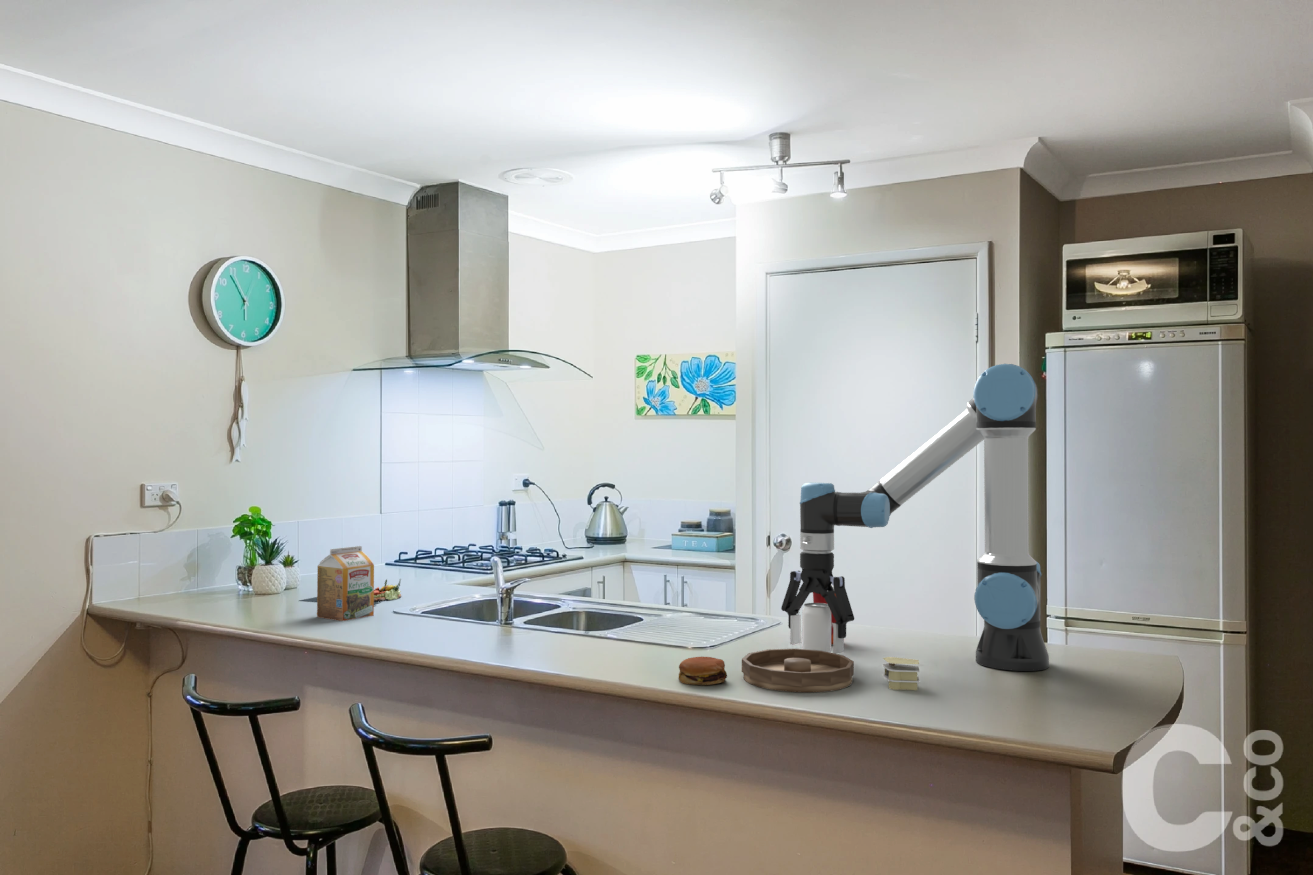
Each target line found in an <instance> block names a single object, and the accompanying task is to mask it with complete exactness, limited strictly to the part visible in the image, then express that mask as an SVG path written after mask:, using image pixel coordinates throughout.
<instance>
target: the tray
mask: <svg viewBox="0 0 1313 875" xmlns="http://www.w3.org/2000/svg"><path fill="white" fill-rule="evenodd" d="M741 673H742V674H743V680H744V681H745V682H746V683H748V684H750V685H752V686H755V687H758V688H762V689H767V690H771V691H779V692H789V693H825V692H826V693H827V692H834V691H840V690H842V689H846V688H848V687H850V686H851V685H852V684H853V676H854V675H855V662H854V660H852V659H851V658H848V657H846V656H845V655H844V654H841V653H837V654H835V653H833V652H831V653H830V652H825V651H820V650H806V649H802V648H772V649H771V648H770V649H764V650H763V649H762V650H757V651H754V652H749V653H747V654H745V656H744V657H742V658H741Z"/></svg>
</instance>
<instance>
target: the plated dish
mask: <svg viewBox="0 0 1313 875" xmlns="http://www.w3.org/2000/svg"><path fill="white" fill-rule="evenodd" d="M401 580H402V578H399V581H398V583H397V584H395V585H393V584H388V579H385V581H384V586H382V587H381V588H380V587H379V586H377V587H376V588H374V607H375V608H376V607H378V606H377V605H378V604H381V603H382V602H387V601H389V602H390V601H396V600H398V599H401V598H402V594H401V592H402V591H401V590H400V586H401ZM298 602H306V603H317V596H316V597H315V596H314V597H310V598H309V597H308V598H304V599H301V600H298Z"/></svg>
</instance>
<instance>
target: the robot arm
mask: <svg viewBox="0 0 1313 875" xmlns="http://www.w3.org/2000/svg"><path fill="white" fill-rule="evenodd" d="M972 396H973V397H972V398H971V399H970V400H969V401H968V402H966V407H965V408H966V409H965V410H964V411H963V412H961V414H959V415H958V416H957V417H956V418H954V419H953V420H952V421H951V422H949V423H948V424H947V425H946V426H944V427H943V428H942V429H941V430H939V431H938V432H937V433H936V434H935V435H933V436H932V437H931V438H930V439H929V440H927V441H926V442H925V443H923V444H922V445H921V446H920V447H919V448H917V449H916V450H915V451H914V452H912V453H911V455H909V456H908V457H907V458H905V459H904V460H903V461H902V462H901V463H899V464H898V465H897V466H896V467H894V468H893V469H892V470H891V471H889V472H887V474H886V475H884V476H883V477H882V478H880V480H879V481H877V482H876V483H874V484H873V485H872V486H871V487H870V488H868V489H867V490H866V491H863V492H842V491H841V492H840V491H836V489H835V485H834V483H832V482H831V483H830V482H804V483H803V484H802V486H801V487H800V488H801V489H800V501H799V506H800V507H799V508H800V509H799V511H800V512H799V514H800V522H799V523H800V535H799V536H800V537H799V538H800V539H799V541H800V546H799V548H800V549H801V550H802V551H801V552H800V553H799V567H800V568H801V570H793V571H792V570H791V571H790V574H789V583H788V586H787V588H786V593H785V596H784V598H783V600H782V601H783V602H782V604H781V607H780V609H781V612H786V613H787V615H788V622H787V623H788V625H787V626H788V629H789V630H790V636H789V638H790V642H789V643H790V645H799V644H802V614H800V610H801V609H802V607H803V606H804V604H805V602H806V600H807V598H809V595H810V594H811V593H812V594H813V592H815V593H817V594H821V596H822V597H824V599H825V600H826V602H827V604H828V606H829V608H830V610H831V612H832V614H833V616H834V618H835V620H836V622H835V623H833V644H832V645H833V646H832V650H833V651H832V653H835V654H841V653H845V649H844V648H845V639H846V637H847V624H848V623H849V622H853V621H854V620H855V615H854V612H853V609H852V606H851V602H850V599H849V596H848V593H847V589H846V582H845V581H846V580H845V577H844V576H834V575H833V574H834V573H833V569H834V568H835V554H834V553H833V552H832V551H833V550H835V526H838V527H840V526H843V527H861V528H863V527H864V528H870V529H873V528H885V527H887V525H888V523H889V521H890V516H891V515H892V514H893V513H894V512H895V511H896V510H898V509H899V508H900V507H901V506H903V504H904V503H906V502H907V501H909V500H910V499H911V498H912V497H914V496H915V495H917V493H918V492H920V491H921V490H923V488H925V487H926V486H928V485H929V484H930V483H931V482H932V481H934V480H935V479H936V478H938V476H940V475H941V474H943V473H944V472H945V471H946V470H947V469H948V468H950V467H952V466H953V465H954V464H955V463H957V461H959V460H960V459H961V458H963V457H964V456H965V455H966V454H968V453H969V452H970V451H972V449H974V448H975V447H976V446H978V445H979V444H980V443H982V442H983V441H984V442H983V448H984V449H983V451H984V452H983V458H984V460H983V461H984V465H983V468H984V469H983V470H984V472H983V473H984V474H983V475H984V476H983V478H984V482H983V483H984V487H983V488H984V491H983V492H984V552H983V553H982V554H981V556H979V558H978V559H977V563H976V567H977V568H976V576H977V577H976V579H977V580H976V581H977V582H976V585H977V586H976V589H975V592H974V598H973V599H974V604H975V608H976V611H977V613H978V614H979V615H980V617H981V618H982V619H983V620H984V621H983V622H984V623H983V629H982V632H981V634H980V638H979V640H978V644H977V647H976V650H975V662H976V663H977V664H979V665H981V666H984V667H988V668H991V669H996V670H997V669H998V670H1004V671H1012V672H1013V671H1016V672H1035V671H1036V672H1037V671H1042V670H1046V669H1048V668H1049V667H1050V655H1049V653H1048V650H1047V647H1046V643H1045V641H1044V638H1043V635H1042V631H1041V577H1042V572H1041V565H1040V563H1039V562H1038V561H1037V560H1035V559H1034V558H1033V557H1032V556H1031V555H1030V553H1029V551H1030V548H1029V545H1030V544H1029V539H1030V538H1029V536H1030V535H1029V534H1030V533H1029V526H1030V525H1029V437H1030V436H1031V435H1032V434H1033V433H1034V432H1035V431H1036V430H1037V427H1036V426H1037V420H1036V416H1037V415H1036V414H1037V412H1036V410H1037V408H1036V406H1037V402H1038V398H1039V391H1038V386H1037V383H1036V381H1035V380H1034V378H1033V377H1032V375H1031V374H1030V373H1029V372H1028V371H1027V370H1026V369H1025V368H1023V367H1022V366H1019V365H1016V364H1013V363H1000V364H996V365H992V366H990V367H988V368H986V369H985V370H984V371H983V372H981V374H980V375H979V376H978V378H977V379H976V381H975V385H974V387H973V393H972ZM801 582H802V584H801ZM831 584H832V585H833V586H834V589H833V587H832V585H831ZM827 590H828V591H827ZM835 595H836V596H835Z"/></svg>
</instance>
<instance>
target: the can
mask: <svg viewBox="0 0 1313 875" xmlns="http://www.w3.org/2000/svg"><path fill="white" fill-rule="evenodd" d="M803 606H804V607H803V609H802V612H801V649H806V650H820V651H825V652H830V653H832V644H831V611H830V608H829V606H828V604H824V603H813V602H807V603H804V604H803Z"/></svg>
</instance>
